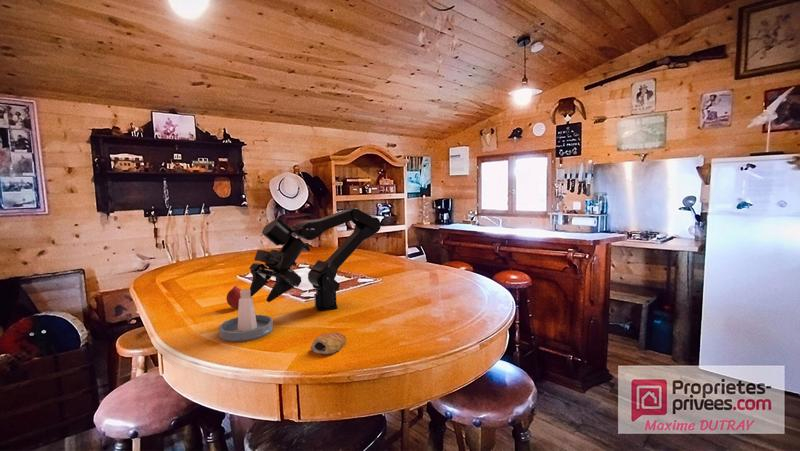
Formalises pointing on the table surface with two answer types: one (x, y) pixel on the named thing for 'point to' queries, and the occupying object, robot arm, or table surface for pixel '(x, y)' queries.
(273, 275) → the robot arm
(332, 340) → the pastry
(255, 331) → the dish
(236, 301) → the onion
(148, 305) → the table surface
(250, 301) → the pepper shaker
